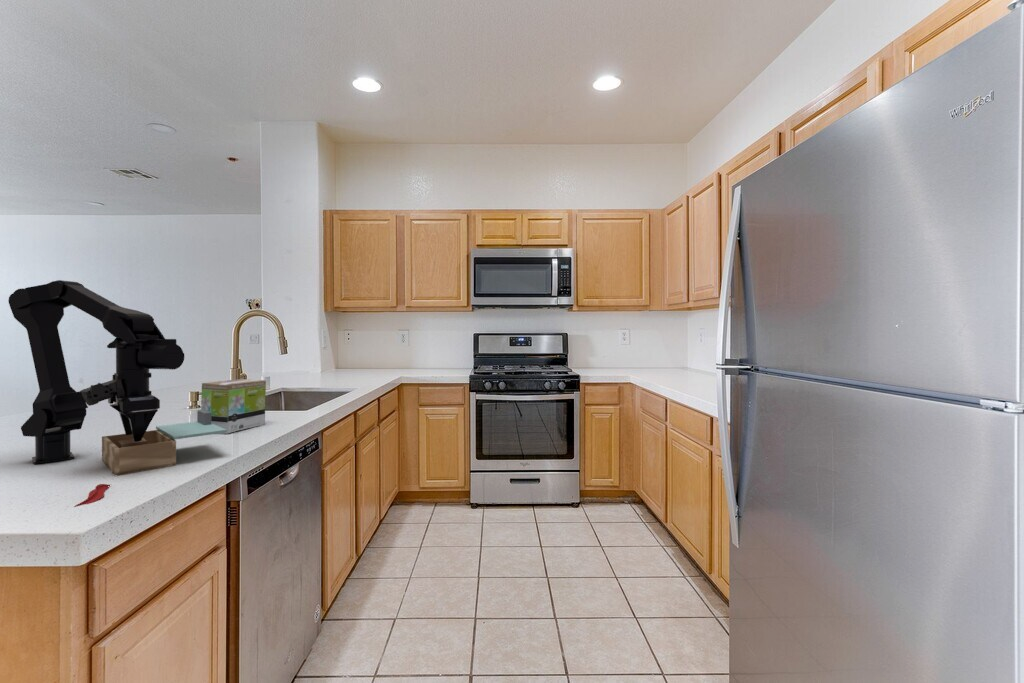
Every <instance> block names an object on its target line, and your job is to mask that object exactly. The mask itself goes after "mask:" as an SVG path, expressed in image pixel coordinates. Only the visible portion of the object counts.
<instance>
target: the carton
mask: <svg viewBox="0 0 1024 683" xmlns="http://www.w3.org/2000/svg"><path fill="white" fill-rule="evenodd" d="M143 438H144V439H145V440H147V443H148V444H144V445H137V446H130V447H123V448H118V441H122V440H130V439H134V438H133V434H131V435H126V434H125V433H121V434H120V433H119V434H112V435H111V434H110V435H104V436H101V461H102V462H103V463H104V465H105V466H106V467H107V468H108V470H109V471H110V472H111V471H112V472H111V473H112V474H113V475H114V476H115V475H117V476H121V474H122V475H126V474H127V475H128V474H134V473H138V472H145V471H151V470H155V469H156V470H157V469H162V468H167V467H173V466H177V439H175V440H174V439H172V438H170V437H169V436H167V435H166V434H164V433H162V432H161V431H159V430H157V429H154V430H152V429H151V430H146V432H145V434H144V436H143Z"/></svg>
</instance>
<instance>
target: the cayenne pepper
mask: <svg viewBox="0 0 1024 683" xmlns="http://www.w3.org/2000/svg"><path fill="white" fill-rule="evenodd" d="M110 485H111V484H106V483H99V484H97V485H96V486H95V488H94V489H92V490H91V491H89V493H88V496H87V498H86V499H85V500H84V501H81V502H80V503H78V504H76V505H74V506H73V508H75V507H80V506H84V505H90V504H92V503H95V502H99V501H101V500H102V499H103V498H104V496H105V492H106V491H107V490H108V489H110V488H109V487H111V486H110ZM108 486H109V487H108ZM105 490H106V491H105Z"/></svg>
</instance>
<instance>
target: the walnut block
mask: <svg viewBox="0 0 1024 683" xmlns="http://www.w3.org/2000/svg"><path fill="white" fill-rule="evenodd" d="M144 444H148V443H147V440H145V439H144V438H142V440H141V441H137V442H135V441H134V439H130V440H122V441H118V448H123V447H130V446H137V445H144Z"/></svg>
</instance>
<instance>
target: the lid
mask: <svg viewBox="0 0 1024 683" xmlns="http://www.w3.org/2000/svg"><path fill="white" fill-rule="evenodd" d="M196 411H197V412H196V415H197V416H196V418H197V419H196V421H190V422H189V421H188V422H182V423H174V424H163V425H157V426H155V430H159V431H161V432H162V433H164V434H166V435H167V436H169V437H170V438H172V439H174V440H180V439H181V440H182V439H188V438H195V437H196V438H197V437H203V436H210V435H218V434H220V433H225V432H227V430H226V429H224V428H221V427H219V426H217V425H214V424H212V423H211V412H209V411H206V410H201V409H197V410H196Z"/></svg>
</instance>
